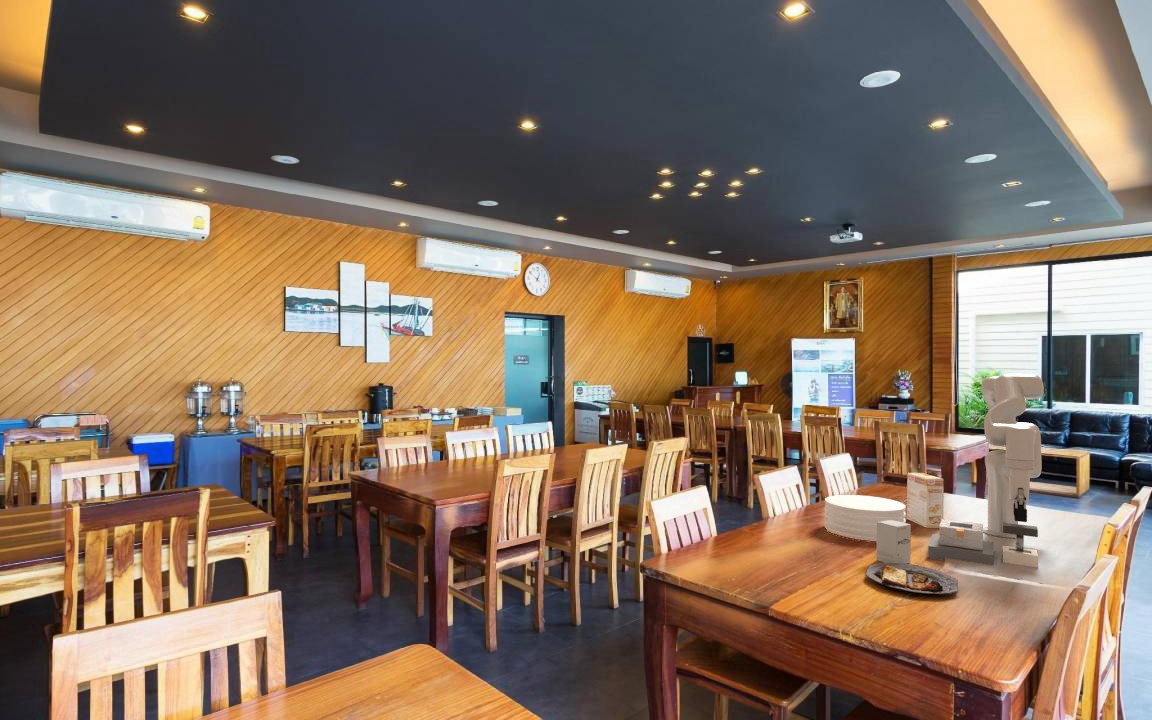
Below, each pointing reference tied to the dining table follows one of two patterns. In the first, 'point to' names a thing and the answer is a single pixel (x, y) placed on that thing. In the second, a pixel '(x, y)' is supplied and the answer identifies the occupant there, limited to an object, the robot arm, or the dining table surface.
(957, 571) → the dining table surface
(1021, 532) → the block
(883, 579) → the food plate
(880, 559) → the supplement box
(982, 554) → the grey flat slab
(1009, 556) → the key stand
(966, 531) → the chuck
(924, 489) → the coffeecake box
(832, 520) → the plate stack
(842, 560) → the dining table surface
